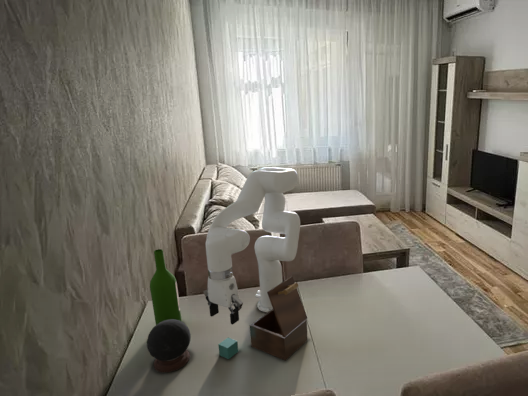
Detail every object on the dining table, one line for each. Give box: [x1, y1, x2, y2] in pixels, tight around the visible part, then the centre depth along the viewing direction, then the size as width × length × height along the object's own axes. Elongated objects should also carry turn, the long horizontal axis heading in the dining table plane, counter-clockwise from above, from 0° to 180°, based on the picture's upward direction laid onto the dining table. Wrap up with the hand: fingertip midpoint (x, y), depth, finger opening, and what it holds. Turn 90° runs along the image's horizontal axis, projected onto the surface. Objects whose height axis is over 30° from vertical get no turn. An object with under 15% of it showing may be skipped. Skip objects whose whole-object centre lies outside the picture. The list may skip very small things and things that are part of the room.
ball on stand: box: [146, 319, 192, 373], centre depth 129 cm, size 13×13×15 cm
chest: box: [249, 309, 308, 361], centre depth 139 cm, size 16×13×9 cm
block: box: [217, 336, 239, 360], centre depth 134 cm, size 4×4×4 cm
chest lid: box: [267, 275, 308, 337], centre depth 132 cm, size 17×13×5 cm
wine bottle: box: [149, 248, 183, 326], centre depth 145 cm, size 9×9×32 cm
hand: (224, 318), depth 130 cm, fingers open, 9 cm apart
